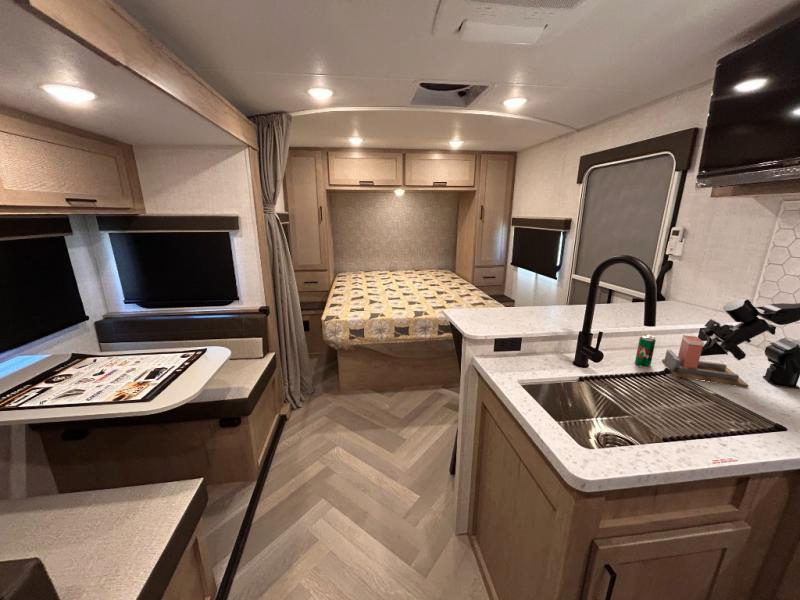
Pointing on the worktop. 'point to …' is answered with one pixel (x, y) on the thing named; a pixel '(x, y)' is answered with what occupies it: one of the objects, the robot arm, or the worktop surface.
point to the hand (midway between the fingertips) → (697, 354)
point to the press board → (723, 381)
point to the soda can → (645, 350)
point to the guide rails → (675, 367)
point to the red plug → (690, 351)
